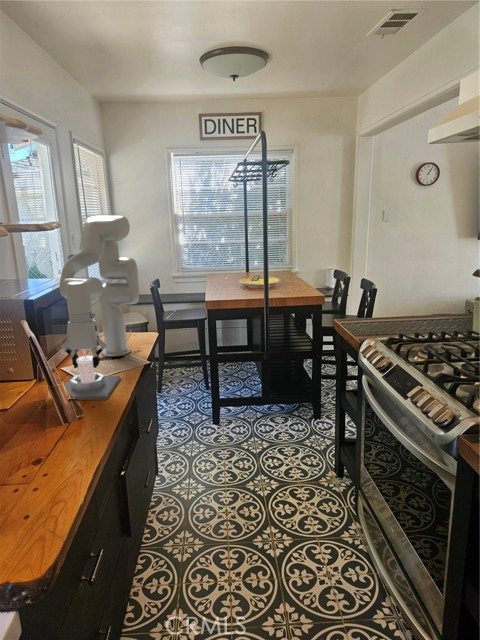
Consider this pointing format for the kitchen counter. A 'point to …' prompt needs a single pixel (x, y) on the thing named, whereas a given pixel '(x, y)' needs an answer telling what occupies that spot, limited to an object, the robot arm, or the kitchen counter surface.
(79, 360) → the beverage cup
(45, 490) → the kitchen counter surface
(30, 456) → the kitchen counter surface
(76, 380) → the steel collar
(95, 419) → the kitchen counter surface
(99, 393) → the plate
